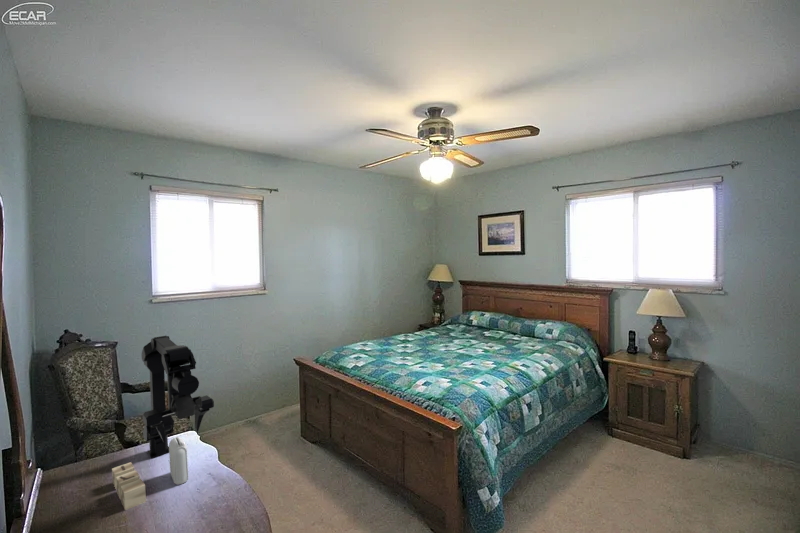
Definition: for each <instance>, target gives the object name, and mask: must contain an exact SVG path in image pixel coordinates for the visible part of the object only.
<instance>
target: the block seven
mask: <svg viewBox="0 0 800 533" xmlns="http://www.w3.org/2000/svg"><path fill="white" fill-rule="evenodd" d="M139 479H141V478H140V475H139V473H138V471H137V469H134V471H132V472H129V473H126V474H123V475H121V476H118V477H116V484H117V490H116V493H117V494H116V495H117V496H118V498H119V500H120V501H121V486H123V485H126V484H128V483H131V482H134V481H136V480H139Z"/></svg>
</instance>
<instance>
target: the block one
mask: <svg viewBox="0 0 800 533" xmlns="http://www.w3.org/2000/svg"><path fill="white" fill-rule="evenodd" d="M134 470H135V466H134V465H133V463H132V462H127V463H124V464H121V465H118V466H115V467H113V468H111V475H112V476H111V477H112V479H111V480H112V485H113V484H114V486H113V487H115V488H114V489H117V484H116V477H118V476H121V475H123V474H126V473H129V472H132V471H134Z"/></svg>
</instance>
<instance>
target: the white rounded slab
mask: <svg viewBox="0 0 800 533" xmlns="http://www.w3.org/2000/svg"><path fill="white" fill-rule="evenodd" d="M168 446H169V452H168V455H169V457H168V459H169V471H170V476H171V480H172V482H173V483H174V484H175V485H183V484H185V483H186V482H187V481H188V480H189V467H188V466H189V464H188V463H189V462H188V447H187V445H186V443H185V440H184V439H183V438H182V437H180V436H176V437H173V438H171V440H170V441H169V442H168Z"/></svg>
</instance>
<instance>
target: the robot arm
mask: <svg viewBox="0 0 800 533" xmlns="http://www.w3.org/2000/svg"><path fill="white" fill-rule="evenodd" d="M141 360H142V362H143V365H144V366H145V367H146V368H147V369H148V371H149V390H150V392H149V393H150V410H148V411H144V412H143V414H142V422H143V423H144V427H143V430H142V436H143V439H144V440H145V442H148V444H149V449H148V450H147V451H146V453H147V455H148V457H149V458H150V459H152V458H156V457H159V456H162V455H165V454H169V441H168V440H169V438H168V435H170V434H173V433H174V425H175V420H174V419H173V417H172V416H173V415H176V417H177V419H178V420H182V419H184V418H187V417H192V416H194V428H195V432H196V433H198V432H199V429H200V427H201V424H202V420H203V418H204V416H205V414H206V413H207V412H210V411H211V409H213V408H214V407H215V401H214V399H213V398H212V397H210V396H208V395H203V396H201V395H199V396H195V397H192V394H194V393H195V392H196V391H197V390H198V389H199V386H200V381H199V379H198V377H196V376H195V375H193V374H192V371H193V370H195V369H196V368H197V367H196V364H197V362H196V359H195V355H194V353H193V352H192V350H191V349H190V348H189V347H188V346H187V345H179V344H176V343H175V342H174V341H172V340H171V338H170V336H169V335H162V336H155V337H152V338H151V340H150V341H149V342H148V343H147V344H145V345H144V346H143V347H142V350H141ZM191 370H192V371H191ZM165 374H166V378H167V379H166V380H167V381H166V380H165ZM166 382H167V391H166ZM166 392H167V395H168V403H166ZM166 404H167V405H166ZM166 406H168V409H167V407H166Z"/></svg>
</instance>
